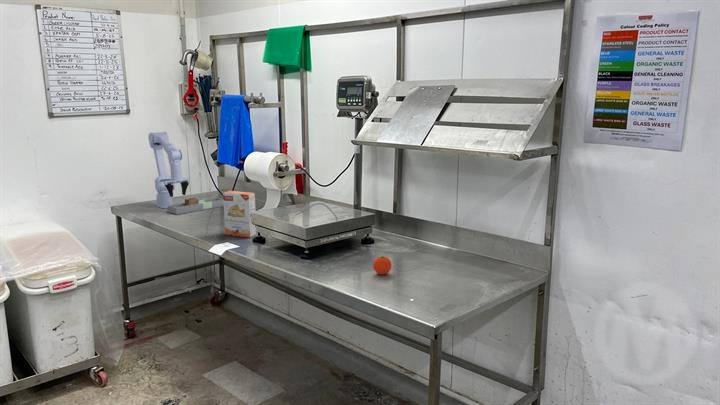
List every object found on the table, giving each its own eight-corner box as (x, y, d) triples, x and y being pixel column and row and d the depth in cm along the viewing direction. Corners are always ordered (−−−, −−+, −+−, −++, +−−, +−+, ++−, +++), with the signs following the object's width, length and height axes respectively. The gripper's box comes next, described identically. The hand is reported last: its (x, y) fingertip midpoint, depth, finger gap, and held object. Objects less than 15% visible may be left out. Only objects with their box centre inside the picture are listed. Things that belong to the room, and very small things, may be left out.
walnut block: (184, 206, 301) (184, 199, 300) (194, 204, 305) (193, 197, 304) (189, 207, 298) (189, 200, 297) (199, 205, 302) (198, 198, 301)
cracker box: (224, 235, 248) (222, 192, 244) (231, 232, 254) (229, 190, 250) (250, 238, 244) (248, 194, 239) (256, 235, 249) (255, 192, 245)
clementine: (372, 270, 201) (372, 252, 199) (390, 270, 201) (390, 252, 200) (373, 277, 193) (374, 259, 191) (392, 277, 193) (392, 258, 192)
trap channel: (166, 211, 296) (166, 205, 296) (215, 203, 320) (215, 197, 319) (177, 215, 289) (177, 208, 288) (226, 206, 312) (226, 199, 312)
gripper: (167, 173, 283) (169, 198, 286) (191, 171, 294) (193, 194, 296) (161, 172, 288) (162, 197, 290) (184, 170, 298) (186, 193, 301)
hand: (177, 195), depth 294 cm, fingers open, 7 cm apart
